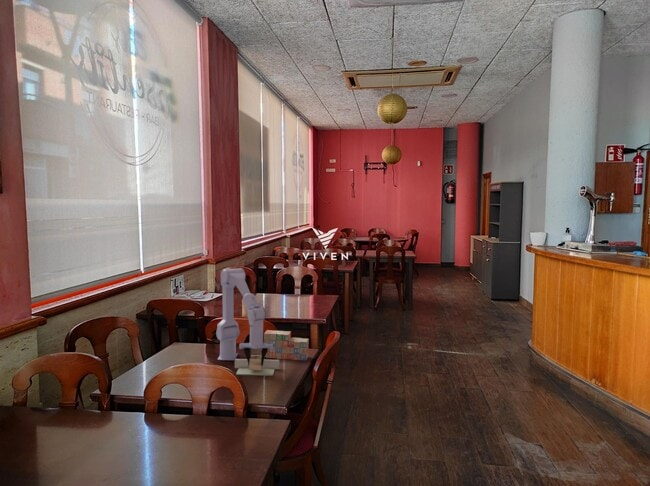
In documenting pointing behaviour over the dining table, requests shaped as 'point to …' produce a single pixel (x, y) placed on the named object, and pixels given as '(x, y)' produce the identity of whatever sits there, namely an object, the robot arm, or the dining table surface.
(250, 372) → the mat
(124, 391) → the dining table surface
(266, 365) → the screen
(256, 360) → the letter cube
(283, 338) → the stack of blocks
